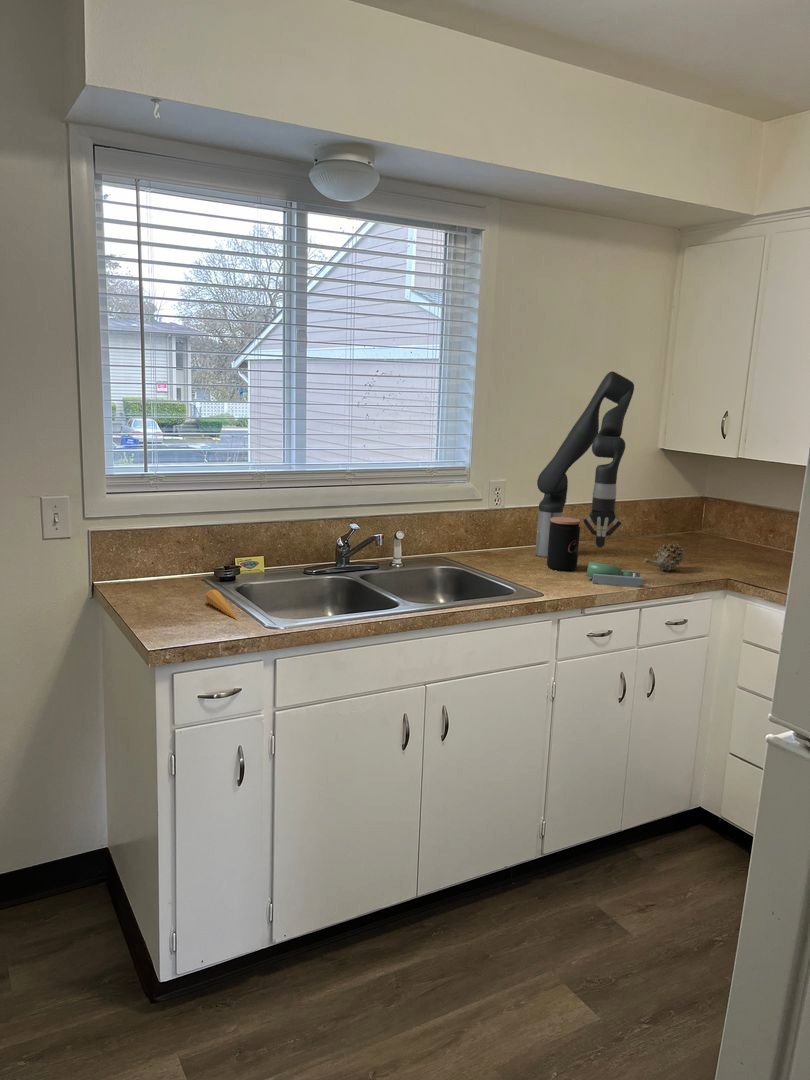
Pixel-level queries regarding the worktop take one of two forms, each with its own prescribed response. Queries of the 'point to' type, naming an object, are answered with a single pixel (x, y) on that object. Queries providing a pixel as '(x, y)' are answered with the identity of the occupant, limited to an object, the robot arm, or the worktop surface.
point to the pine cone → (667, 557)
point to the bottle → (605, 570)
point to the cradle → (619, 579)
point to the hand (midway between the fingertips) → (599, 547)
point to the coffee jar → (563, 543)
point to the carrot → (219, 602)
